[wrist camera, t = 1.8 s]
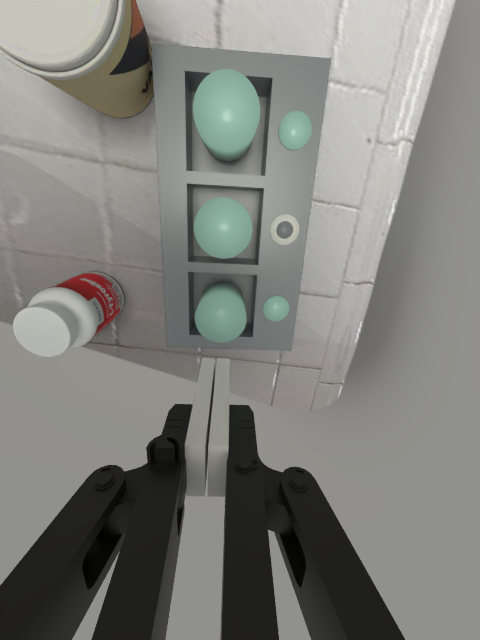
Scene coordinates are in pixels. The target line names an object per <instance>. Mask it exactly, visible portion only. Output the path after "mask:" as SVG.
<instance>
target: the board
mask: <svg viewBox="0 0 480 640" xmlns="http://www.w3.org/2000/svg"><path fill="white" fill-rule="evenodd" d="M151 46H152V66H153V85H154V105H155V124H156V143H157V163H158V182H159V202H160V221H161V240H162V260H163V279H164V299H165V318H166V337H167V347H197V348H227V349H257V350H287V351H291V348H292V341H293V334H294V326H295V319H296V312H297V304H298V297H299V290H300V282H301V275H302V268H303V260H304V253H305V246H306V238H307V231H308V224H309V217H310V209H311V202H312V195H313V187H314V180H315V173H316V165H317V158H318V151H319V143H320V136H321V129H322V121H323V114H324V107H325V99H326V92H327V85H328V77H329V70H330V63H331V58H319V57H307V56H295V55H283V54H271V53H259V52H247V51H235V50H223V49H211V48H199V47H187V46H175V45H163V44H151ZM221 69H231V70H235V71H237V72H239V73H241V74H243V75H244V76H245V77H246V78H247V79H248V80H249V81H250V82H251V83H252V85H253V86H254V88H255V90H256V92H257V95H258V98H259V103H260V119H259V123H258V127H257V130H256V133H255V136H254V140H253V143H252V145H251V147H250V149H249V150H248V152H247V153H246V154H245V155H244V156H243V157H241V158H240V159H238V160H235V161H222V160H219V159H217V158H215V157H213V156H212V155H211V154H210V153H209V152H208V150H207V149H206V148H205V146H204V144H203V141H202V139H201V137H200V134H199V132H198V129H197V127H196V124H195V121H194V116H193V101H194V96H195V93H196V91H197V88H198V86H199V85H200V83H201V82H202V81H203V79H204V78H205V77H206V76H208V75H209V74H210V73H212V72H214V71H217V70H221ZM219 197H226V198H231V199H234V200H236V201H237V202H239V203H240V204H242V205H243V206H244V207H245V209H246V210H247V211H248V213H249V215H250V218H251V221H252V236H251V240H250V242H249V244H248V246H247V247H246V248H245V249H244V250H243V251H242V252H241V253H240V254H238V255H237V256H234V257H232V258H227V259H221V258H216V257H213V256H211V255H209V254H208V253H206V252H205V251H204V250H203V249H202V248H201V247H200V245H199V244H198V242H197V240H196V237H195V233H194V222H195V218H196V215H197V213H198V211H199V210H200V208H201V207H202V206H203V205H204V204H205V203H206V202H208V201H210V200H212V199H214V198H219ZM219 281H225V282H229V283H232V284H234V285H235V286H237V287H238V288H239V289H240V291H241V292H242V294H243V297H244V303H245V310H246V319H247V321H246V326H245V328H244V330H243V332H242V333H241V334H240V335H239V336H238V337H237V338H236V339H234V340H232V341H229V342H224V343H218V342H213V341H210V340H208V339H206V338H205V337H204V336H202V334H201V333H200V332H199V331H198V329H197V327H196V324H195V313H196V310H197V307H198V304H199V301H200V299H201V296H202V293H203V291H204V290H205V289H206V288H207V287H208V286H209V285H211V284H212V283H215V282H219Z"/></svg>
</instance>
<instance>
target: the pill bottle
mask: <svg viewBox="0 0 480 640" xmlns="http://www.w3.org/2000/svg"><path fill="white" fill-rule="evenodd" d="M123 305H124V295H123V292H122V289H121V288H120V286H119V285H118V283H117V282H116V281H115V280H114V279H112V278H111V277H110V276H108V275H106V274H103V273H100V272H87V273H84V274H81V275H79V276H76V277H74V278H71V279H69V280H66V281H64V282H61V283H59V284H57V285H54V286H52V287H49V288H47V289H44V290H42V291H41V292H39V293H37V294H36V295H35V296H34V297H33V298H32V299H31V301H30V302H29V304H28V307H27V308H25V309H23V310H21V311H20V312H19V313H18V314H17V315H16V316H15V318H14V321H13V332H14V335H15V337H16V338H17V340H18V342H19V343H20V344H21V345H22V346H23V347H24V348H25V349H27V350H28V351H30V352H31V353H34V354H36V355H39V356H43V357H54V356H58V355H60V354H62V353H63V352H65V351H66V350H67V349H73V348H77V347H80V346H82V345H84V344H86V343H87V342H88V341H90V340H91V339H92V338H93V337H94V336H95V335H96V334H98V333H99V332H100V331H101V330H102V329H103V328H104V327H105V326H107V325H108V324H109V323H110V322H111V321H112V320H113V319H114V318H115V317H116V316H117V315H118V314H119V313H120V312H121V310H122V308H123Z"/></svg>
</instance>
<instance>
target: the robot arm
mask: <svg viewBox="0 0 480 640" xmlns="http://www.w3.org/2000/svg"><path fill="white" fill-rule="evenodd" d="M229 385H230V359H227V358H217V365H216V375H215V358H202V362H201V367H200V372H199V377H198V382H197V387H196V392H195V397H194V402H193V405H191V404H175V405H174V406H173V407H172V408H171V409H170V410H169V413H168V416H167V419H166V422H165V426H164V429H163V432H162V435H160V436H158V437H156V438H154V439H153V440H152V441H151V442H149V444H148V446H147V448H146V449H147V459H148V463H147V464H145V465H143V466H142V467H139V468H136V469H133V470H129V471H125V472H124V471H123V470H122V468H121V467H119V466H117V465H107V466H104V467H101V468H99V469H97V470H96V471H94V472H93V473H92V474H91V475H90V476H89V477H88V478H87V479H86V480H85V482H84V483H83V484H82V485H81V487H80V488H79V489H78V490H77V491H76V493H75V494H74V495H73V496H72V498H71V499H70V500H69V501H68V503H67V504H66V505H65V506H64V508H63V509H62V510H61V511H60V512H59V514H58V515H57V516H56V517H55V519H54V520H53V521H52V522H51V524H50V525H49V526H48V527H47V529H46V530H45V531H44V533H43V534H42V535H41V536H40V537H39V538H38V540H37V541H36V542H35V543H34V545H33V546H32V547H31V548H30V550H29V551H28V552H27V553H26V555H25V556H24V557H23V558H22V560H21V561H20V562H19V563H18V564H17V566H16V567H15V568H14V569H13V571H12V572H11V573H10V574H9V576H8V577H7V578H6V579H5V580H4V582H3V583H2V584H1V585H0V640H72V638H73V636H74V635H75V633H76V631H77V629H78V627H79V625H80V623H81V622H82V620H83V618H84V616H85V614H86V612H87V610H88V609H89V607H90V605H91V603H92V601H93V599H94V597H95V596H96V594H97V592H98V590H99V588H100V586H101V584H102V582H103V581H104V579H105V577H106V575H107V573H108V571H109V570H110V567H111V566H112V564H113V562H114V560H115V558H116V556H117V555H118V553H119V551H120V553H119V556H118V559H117V562H116V565H115V568H114V571H113V574H112V577H111V581H110V584H109V587H108V590H107V593H106V596H105V600H104V603H103V606H102V609H101V612H100V615H99V618H98V621H97V624H96V627H95V631H94V634H93V637H92V640H165V637H166V631H167V624H168V618H169V611H170V604H171V597H172V590H173V584H174V577H175V570H176V563H177V557H178V550H179V543H180V537H181V530H182V524H183V517H184V500H185V494H186V496H205V487H206V478H207V467H208V496H223V497H224V496H225V519H224V551H223V580H222V582H223V583H222V611H221V639H220V640H279V635H278V626H277V616H276V606H275V597H274V587H273V577H272V567H271V557H270V547H269V537H268V530H271V531H273V532H275V535H276V538H277V541H278V544H279V547H280V550H281V553H282V556H283V558H284V561H285V564H286V567H287V570H288V573H289V576H290V579H291V582H292V585H293V588H294V591H295V593H296V596H297V599H298V602H299V605H300V608H301V611H302V614H303V617H304V619H305V622H306V625H307V628H308V631H309V634H310V637H311V640H405V638H404V637H403V635H402V633H401V631H400V630H399V628H398V626H397V624H396V622H395V621H394V619H393V617H392V615H391V613H390V612H389V610H388V608H387V606H386V605H385V603H384V601H383V599H382V597H381V596H380V594H379V592H378V590H377V589H376V587H375V585H374V583H373V581H372V580H371V578H370V576H369V575H368V573H367V571H366V569H365V567H364V566H363V564H362V562H361V560H360V558H359V557H358V555H357V553H356V551H355V550H354V548H353V546H352V544H351V542H350V540H349V539H348V537H347V535H346V533H345V532H344V530H343V528H342V526H341V525H340V523H339V521H338V519H337V517H336V516H335V514H334V512H333V510H332V508H331V507H330V505H329V503H328V501H327V500H326V498H325V496H324V494H323V492H322V491H321V489H320V487H319V485H318V484H317V482H316V480H315V478H314V477H313V476H312V475H311V473H309V472H308V471H306V470H305V469H303V468H299V467H290V468H288V469H285V471H284V472H283V473H282V472H279V471H276V470H273V469H271V468H268V467H267V466H266V465H264V464H263V463H262V462H261V460H260V458H259V456H258V452H257V442H256V433H255V423H254V414H253V411H252V410H251V408H250V407H249V406H248V405H229Z"/></svg>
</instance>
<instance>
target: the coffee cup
mask: <svg viewBox="0 0 480 640" xmlns="http://www.w3.org/2000/svg"><path fill="white" fill-rule="evenodd" d="M0 53H1V54H2V55H3V56H4V57H6V58H7V59H8V60H9V61H11V62H12V63H14V64H15V65H17V66H19V67H20V68H22V69H24V70H26V71H28V72H30V73H32V74H35V75H37V76H39V77H41V78H43V79H44V80H46V81H48V82H49V83H51V84H53V85H54V86H56V87H58V88H60V89H61V90H63V91H65V92H66V93H68V94H70V95H71V96H73V97H75V98H77V99H78V100H80V101H82V102H84V103H85V104H87V105H89V106H91V107H92V108H94V109H96V110H98V111H100V112H102V113H104V114H106V115H108V116H112V117H117V118H126V117H131V116H134V115H136V114H138V113H140V112H141V111H142V110H143V109H144V108H145V107H146V106H147V105H148V104H149V102H150V100H151V99H152V97H153V94H154V85H153V66H152V47H151V44H150V41H149V38H148V35H147V32H146V29H145V27H144V24H143V21H142V18H141V15H140V12H139V9H138V6H137V3H136V1H135V0H0Z"/></svg>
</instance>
